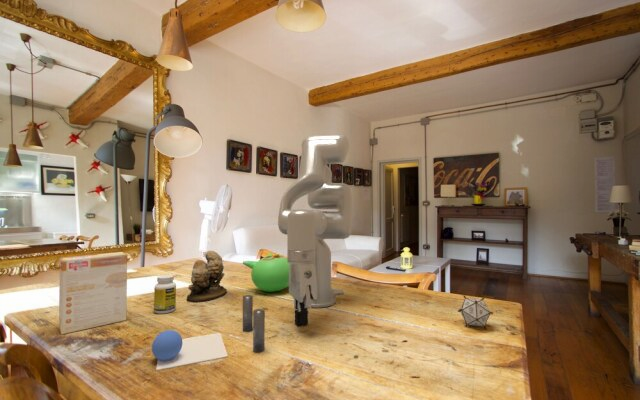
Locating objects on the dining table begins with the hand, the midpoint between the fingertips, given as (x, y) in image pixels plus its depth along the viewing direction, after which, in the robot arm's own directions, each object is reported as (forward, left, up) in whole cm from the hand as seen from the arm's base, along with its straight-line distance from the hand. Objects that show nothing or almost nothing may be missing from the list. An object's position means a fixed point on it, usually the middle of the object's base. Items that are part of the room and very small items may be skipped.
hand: (301, 325), depth 83 cm
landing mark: (+27, 0, -2) cm, 27 cm away
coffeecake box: (+52, -29, -2) cm, 60 cm away
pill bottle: (+34, -33, -2) cm, 47 cm away
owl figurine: (+20, -46, -2) cm, 50 cm away
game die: (-45, +17, -2) cm, 48 cm away
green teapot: (-4, -43, -2) cm, 43 cm away
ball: (+32, +3, +2) cm, 32 cm away
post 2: (+13, +7, -2) cm, 15 cm away
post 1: (+13, -7, -2) cm, 15 cm away
